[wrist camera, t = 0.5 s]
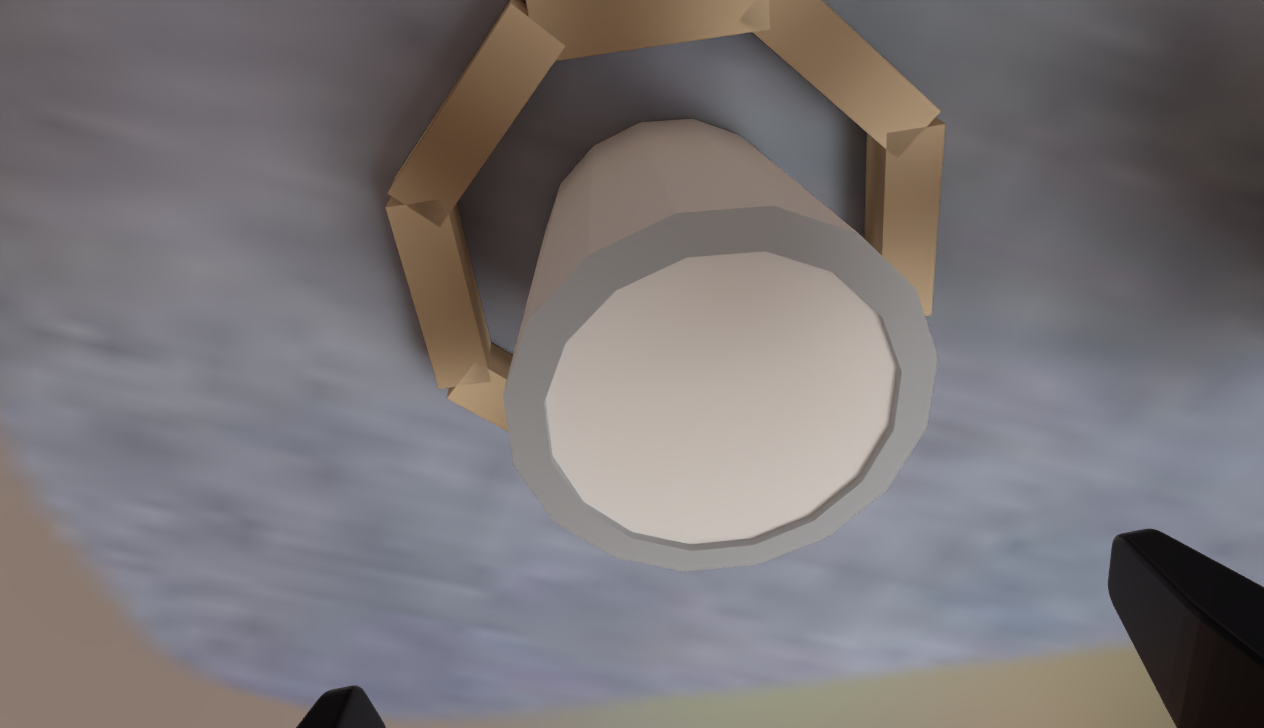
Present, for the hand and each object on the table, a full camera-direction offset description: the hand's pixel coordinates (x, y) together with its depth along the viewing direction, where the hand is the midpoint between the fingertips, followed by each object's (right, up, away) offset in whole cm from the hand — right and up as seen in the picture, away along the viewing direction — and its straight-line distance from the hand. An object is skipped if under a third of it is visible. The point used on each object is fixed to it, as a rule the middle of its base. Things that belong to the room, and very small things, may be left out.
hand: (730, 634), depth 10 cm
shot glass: (0, +6, +9) cm, 11 cm away
